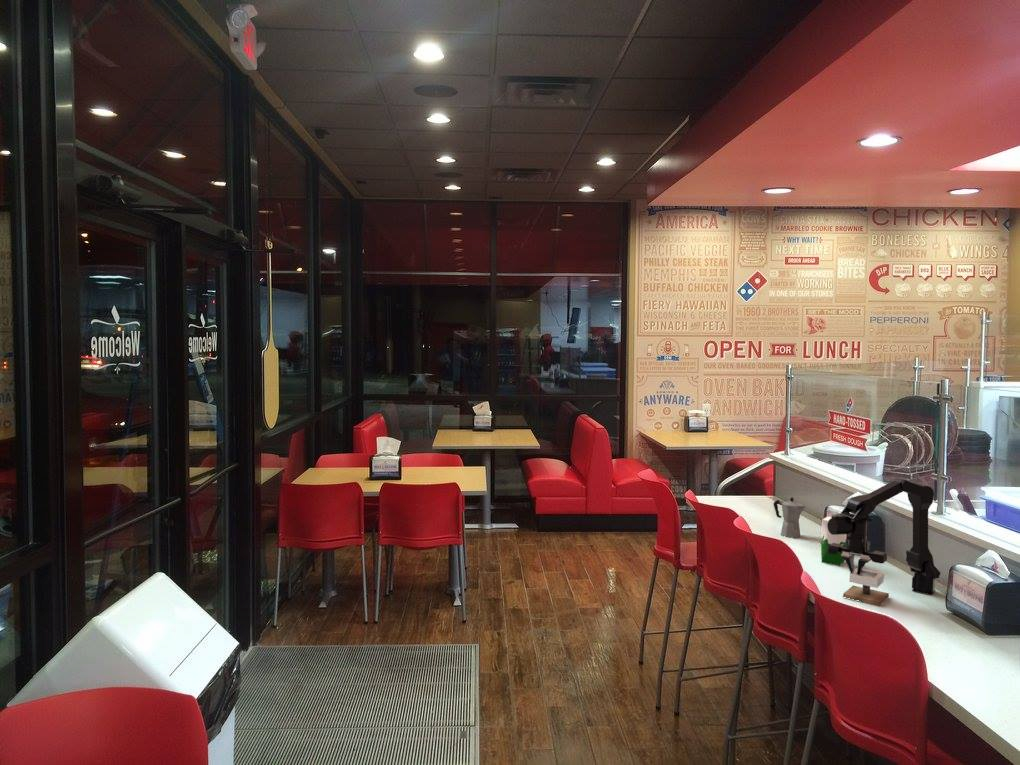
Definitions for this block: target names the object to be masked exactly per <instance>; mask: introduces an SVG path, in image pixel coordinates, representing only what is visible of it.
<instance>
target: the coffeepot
mask: <svg viewBox="0 0 1020 765" xmlns="http://www.w3.org/2000/svg"><path fill="white" fill-rule="evenodd" d="M789 498H790V499H789V501H785V500H780V499H777V500H775V501H774V502H773V507H774V511H775V515H776V517H777V518H779V519H781V518H783V521H782V525H781V530H780V531H781V532H780V536H782V537H784V536H785V537H784V538H790V539H799V538H801V528H800V518H801V513H802V512H803V511H804V509H806V508H807V506H806V505H803V504H802V503H799V502H796V501H794V499H795V498H794V497H789ZM778 505H780V506H781V509H782V515H780V511H779V506H778Z"/></svg>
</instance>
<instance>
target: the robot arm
mask: <svg viewBox="0 0 1020 765" xmlns="http://www.w3.org/2000/svg"><path fill="white" fill-rule="evenodd" d="M901 493H906V494H907V498H908V502H909V504H910V505H911V508H912V546H911V548H910V550H906V551H905V554H906V558H905V562H906V563H907V566H909V569H910V571H911V572H912V573H913V574H914V575H912V577H911V578H912V579H911V580H912V581H911V588H912V590H911V591H912V592H914V593H915V592H916V593H920V594H924V595H929V596H933V595H934V594H935V592H936V589H935V586H936V579H939V578H940V577H941V576H940V575H941V572H940V570H939V569H938V568H937V567H936V566H935V562H934V556H933V554H932V552H931V551H930V549H929V508H930V507H931V506H932V504H933V502H934V497H935V491H934V488H932V486H930V485H926V484H923V483H919V482H911V481H909V480H907V479H903V478H899V477H896V478H894V479H893V480H892V481H889V483H887V484H885V485H883V486H880V487H878V488H877V489H875V490H873V491H872V492H869V493H867V494H861V495H860V494H859V495H856V496H851V497H850V498H849V499H848V500H847V503H846V505H845V506H844V507H843V509H842V510H841V511H840V513H839V514H840V515H836V514H832V515H831V517H832V518H831V519H830V520H829V521H828V523H827V527H828V531H829V532H830V533H831V534H832V535H840V534H847V535H848V536H847V543H848V544H847V547H846V548H843V545H842V544H837V543H832V544H830V545H829V546H828V547H827V553H830V554H835V555H836V554H837V553H838V552H841V553H842V558H844V560H845V563H846V565H847V567H848V569H849V574H850V573H851V572H852V571H854V570H855V556H856V557H857V556H858V557H860V558H859V559H858V562H857V568H858V570H857V574H861V572H862V569H864V567H865V565H867V564H869V562H870V561H871V562H872V563H877V564H884V563H886V562H887V561H888V554H887V553H886V552H884V551H879V550H873V552H869V551H870V547H871V542H870V540H868V536H867V529H868V528H867V527H868V522H869V523H873V519H872V518H871V517H870V514H872V513H873V512H874V511H875V509H876V508H877V506H879V505H881V504H882V503H884V502H886V501H888V500H890V499H892V498H894V497H895V496H897V495H900V494H901Z"/></svg>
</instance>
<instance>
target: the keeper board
mask: <svg viewBox="0 0 1020 765" xmlns="http://www.w3.org/2000/svg"><path fill="white" fill-rule="evenodd" d="M843 597H846V598H850V599H854V600H859V601H861V602H860V603H863V602H865V603H864V604H867V603H868V605H872V604H873V605H872V606H877V607H881V606H882V605H883V604H884V603H885V602H886V601H887V600H888V599H887V598H888V597H890V593H889V592H884V591H880V590H875V589H871V587H870V586H866V585H862V586H859V585H852V586H850V587H849V588H848V589H847V590H845V591H844V592H843V595H842V598H843ZM846 598H845V599H846ZM850 599H849V600H850ZM886 599H887V600H886ZM854 600H853V601H854ZM885 600H886V601H885ZM859 601H858V602H859ZM884 601H885V602H884ZM883 602H884V603H883ZM882 603H883V604H882ZM881 604H882V605H881ZM880 605H881V606H880Z"/></svg>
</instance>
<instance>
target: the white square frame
mask: <svg viewBox="0 0 1020 765" xmlns="http://www.w3.org/2000/svg"><path fill="white" fill-rule="evenodd" d="M857 570H858V567H856V568H854V571H852V572H851V573H850V572H849V583H853V584H857V585H862V586H863V585H866V586H870V588H871V587H872V588H874V589H878V588H879V587H880V586H881V585H882V584H884V582H885V573H883V572H878V571H875V570H869V569H866V568H863V569H862V572H861V574H857Z"/></svg>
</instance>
